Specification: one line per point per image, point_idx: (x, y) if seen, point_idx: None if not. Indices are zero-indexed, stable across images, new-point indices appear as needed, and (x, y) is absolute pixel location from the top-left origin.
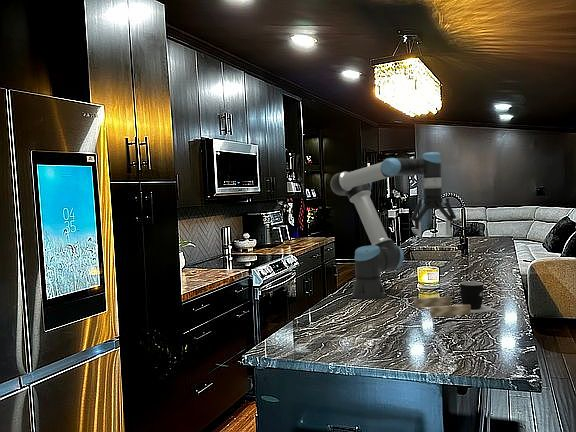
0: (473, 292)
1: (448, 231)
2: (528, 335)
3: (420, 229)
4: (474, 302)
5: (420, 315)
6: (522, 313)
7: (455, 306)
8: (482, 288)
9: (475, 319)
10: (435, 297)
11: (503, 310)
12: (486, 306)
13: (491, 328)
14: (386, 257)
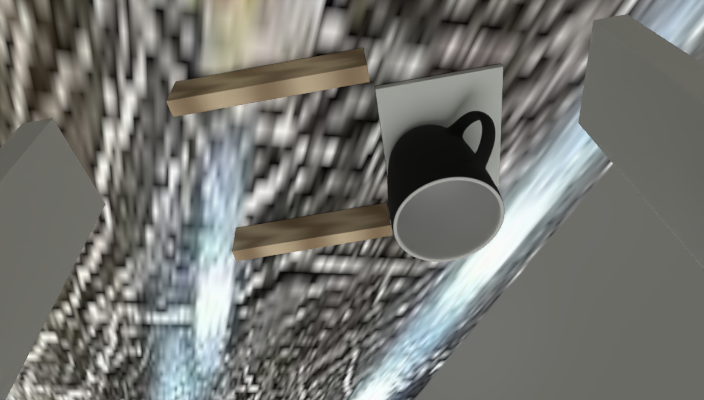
0: (426, 238)
1: (611, 149)
2: (432, 376)
3: (50, 295)
4: (423, 206)
5: (199, 216)
6: (564, 214)
7: (329, 245)
8: (477, 234)
9: (374, 268)
10: (287, 81)
11: (532, 172)
12: (496, 132)
13: (378, 337)
14: None
